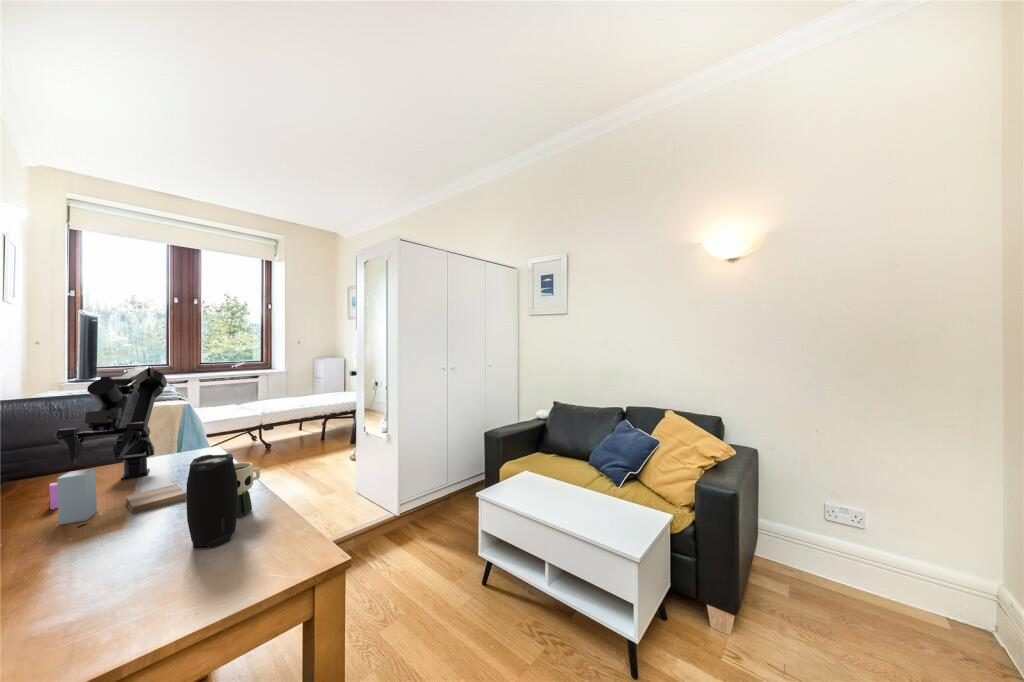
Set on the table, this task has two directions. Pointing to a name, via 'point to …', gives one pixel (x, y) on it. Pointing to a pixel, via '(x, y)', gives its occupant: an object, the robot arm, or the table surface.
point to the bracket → (53, 496)
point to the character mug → (245, 485)
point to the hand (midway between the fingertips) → (96, 460)
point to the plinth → (155, 498)
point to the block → (76, 496)
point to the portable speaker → (212, 500)
